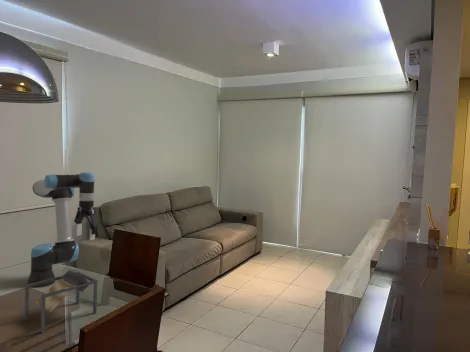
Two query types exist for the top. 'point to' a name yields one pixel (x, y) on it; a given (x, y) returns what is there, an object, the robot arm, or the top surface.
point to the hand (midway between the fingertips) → (85, 237)
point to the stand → (92, 281)
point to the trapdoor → (68, 281)
